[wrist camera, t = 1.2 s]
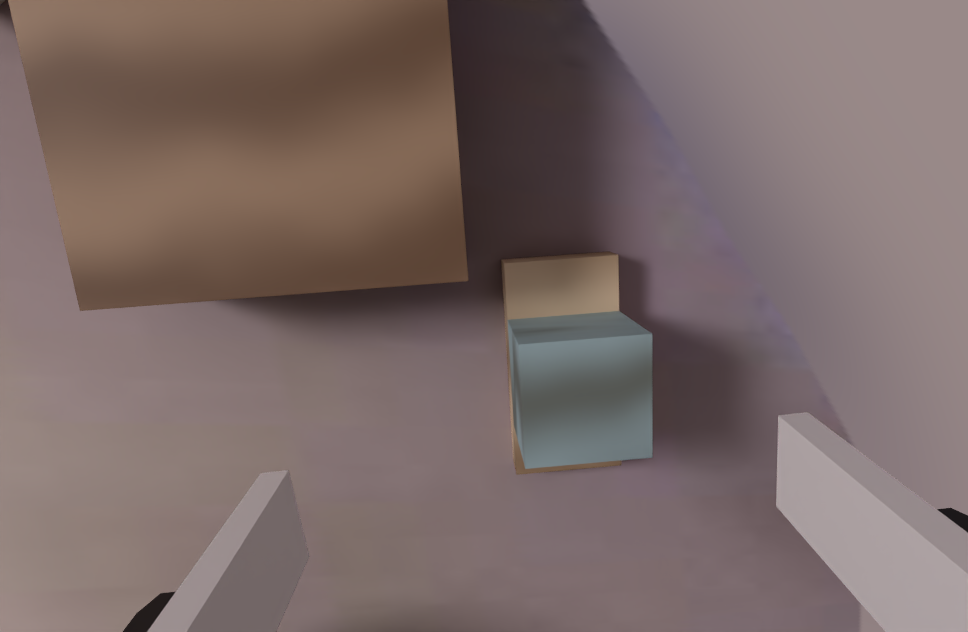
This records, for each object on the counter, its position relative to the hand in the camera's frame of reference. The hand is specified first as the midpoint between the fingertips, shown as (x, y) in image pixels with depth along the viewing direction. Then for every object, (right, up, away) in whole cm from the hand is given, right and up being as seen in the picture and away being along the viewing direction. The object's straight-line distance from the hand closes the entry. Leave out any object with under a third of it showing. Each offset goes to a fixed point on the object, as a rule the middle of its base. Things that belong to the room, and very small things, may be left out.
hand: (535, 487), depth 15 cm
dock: (-11, +15, +13) cm, 23 cm away
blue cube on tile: (+3, +2, +17) cm, 17 cm away
